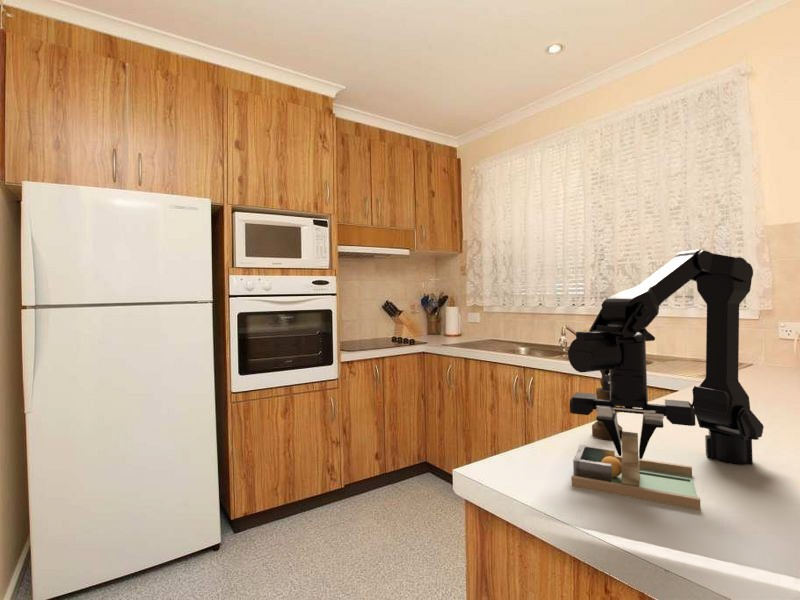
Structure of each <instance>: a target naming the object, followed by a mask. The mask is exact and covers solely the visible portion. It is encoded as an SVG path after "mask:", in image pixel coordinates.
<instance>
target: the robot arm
mask: <svg viewBox="0 0 800 600" xmlns="http://www.w3.org/2000/svg"><path fill="white" fill-rule="evenodd" d="M753 276H754V269H753V266H752V264H751V263H749V262H748V261H747V260H746V259H745V258H744V257H740V256H739V257H735V256H729V255H724V254H718V253H712V252H710V251H707V250H704V249H695V250H686V251H680V252H679V253H676V254H675V255H674V256H673V258H672V259H671V260H669V262H668V263H665V265H663V266H662V267H660V269H658V270H657V271H655V272H654V273H652V275H650V276H649V277H648V278H646V279H645V280H643V281H641V282H640V284H638V285H637V286H634V287H632V288H629V289H625V290H622V291H619V292H617V293H615V294H613V295H610V296H608V297H607V298H605V299H604V300H603V301H602V303H601V308H600V310H599V313H598V314H597V316H596V318H595V319H594V321H593V323H592V325H591V327H590V328H589V331H576V332H575V338H574V340H572V341H571V343H570V345H569V347H568V349H567V358H568V360H569V363H570V365H571V367H572V368H573V369H574V370H575V371H576V372H578V373H589V372H598V371H599V372H600V371H601V370H609V375H604V391H605V392H610V400H601V399H597V397H596V393H587V392H578V391H577V392H575V393H573V395H572V396H571V398H570V399H569V413H570V414H573V415H581V416H589V415H590V414H592V413H593V412H594V411H595V412H596V414H597V415H596V417H595V419H596V422H597V421H602V422H603V424H604V425H605V427H606V429H607V431H608V432H609V434H610V436H611V438H612V440H611V441H612V443H613V445H614V447H615V448H614V449H615V451H616V453H617V455H618V456H622V439H620V434H619V428H618V424H619V423H618V413H626V414H627V413H629V414H638V415H642V422H641V430H640V439H639V445H638V456H639V459H644V455H645V453H646V449H647V447H648V444H649V442H650V440H651V438H652V436H653V434H654V432H655V431H656V429H657V428H660V429H661V428H664V419H665V417H666V419H667V420H668V422H670V423H671V424H672V425H677V426H679V425H680V426H690V427H694V426H695V427H696V422H697V423H698V426H699V428H700V429H701V428H702V429H707V430H708V434H706V435H705V436H704V437H705V438H704V440H705V441H704V442H705V444H704V445H705V456H706V458H707V459H708V460H714V461H718V462H720V463H724V464H728V465H733V466H735V465H737V466H745V465H750V466H753V465H754V463H753V461H754V460H753V441H754V440H756V441H758V440H760V439H759V438H762V436H763V431H764V424H763V423H762V422H761V421H760V419H758V417H757V415H755V413H754V412H753V411H752V410H751V404H750V397H749V395H748V393H747V391H745V389H744V387H743V386H742V384H741V383H740V381H739V363H740V362H739V352H740V351H739V350H740V349H739V346H740V345H739V344H740V342H739V341H740V334H739V333H740V305H741V304H742V302H743V301H744V300H745V298H746V297H747V295H749V293H750V291H751V287H752V281H753V280H752V279H753ZM690 281H693V282H696V290H697V293H698V294H699V295H700V297H701V298H702V300H703V301H704V303H705V304H706V334H705V337H706V339H705V340H706V342H705V343H706V344H705V345H706V346H705V378H704V380H703V381H702V382H701V383H700V385H698V386H697V385H694V386H693V388H692V403H691V402H690V401H688V400H675V399H664V404H660V403H659V404H658V403H648V401H649V400H648V399H649V396H648V379H647V377H648V376H647V375H648V374H647V351H646V349H647V348H646V346H647V345H646V342H654V341H655V340H656V337H655V336H654V335H653V334H652V333H651V332H649V331H648V330H647V329H646V328H647V327H648V326H649V325H650V324H651V323H652V322H653V321H654V320H655V318H656V317H657V316H659V311H660V306H661V305H662V303H664V301H666V300H668V298H670V297H671V296H673V295H674V294H675V293H676V292H677V291H678V290H680V289H681V288H682V287H684V286H685V285H686V284H687V283H689V282H690ZM696 420H697V421H696Z"/></svg>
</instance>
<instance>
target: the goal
mask: <svg viewBox="0 0 800 600" xmlns="http://www.w3.org/2000/svg"><path fill="white" fill-rule="evenodd" d="M615 451H616V448H610V447H601V446H596V445H588V444H581V443H580V444H579V446H578V449H577V451H576V453H575V455H574V458H573V460H572V462H573V463H572V464H573V476H579V477H585V478H590V479H596V480H602V481H608V482H612V464H607V463H601V461H602V459H603V458H605V457H608V456H612V457H615V455H616V452H615Z"/></svg>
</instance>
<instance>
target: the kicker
mask: <svg viewBox="0 0 800 600" xmlns="http://www.w3.org/2000/svg"><path fill="white" fill-rule="evenodd" d="M638 436H639V434H638V432H631V431H625V430H622V439H621V451H622V455H621V456H622V464H621V474H622V483H623V484H628V485H634V486H639V483H640V462H639V438H638Z"/></svg>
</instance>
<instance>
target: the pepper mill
mask: <svg viewBox="0 0 800 600" xmlns="http://www.w3.org/2000/svg"><path fill="white" fill-rule="evenodd" d="M599 372H600V373H601V378H599V382H600V387H597V388H595V394H596V399H601V400H610V392H605V391H604V375H610V373H609V370H601V371H599ZM618 428H619V434H620V440H622V431H623V427H622V426H621V425H620V424H619V423H618ZM591 434H592V436H593V437H594V438H596V439H598V440H604V441H612V438H611V436H610V434H609V432H608V431H607V429H606V427H605V425H604V424H603V422H602V421H597V420H596V421H595V422H594V423H592V425H591Z"/></svg>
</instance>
